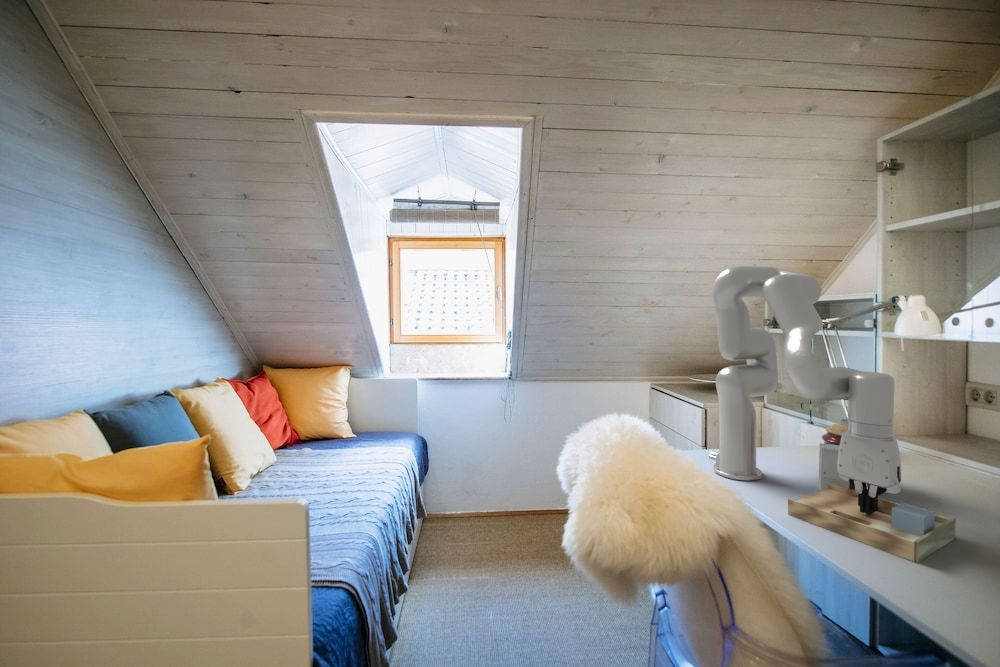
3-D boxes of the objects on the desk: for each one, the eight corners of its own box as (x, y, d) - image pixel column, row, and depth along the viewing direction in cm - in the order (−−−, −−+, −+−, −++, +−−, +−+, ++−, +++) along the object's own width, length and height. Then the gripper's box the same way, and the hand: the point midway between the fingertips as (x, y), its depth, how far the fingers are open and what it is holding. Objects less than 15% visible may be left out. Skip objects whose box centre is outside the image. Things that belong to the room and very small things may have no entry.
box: (787, 514, 102) (788, 497, 102) (828, 497, 110) (829, 482, 110) (917, 563, 82) (917, 542, 82) (955, 538, 90) (955, 519, 90)
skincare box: (820, 493, 113) (820, 447, 112) (817, 487, 117) (818, 442, 116) (850, 498, 110) (851, 450, 109) (846, 491, 114) (847, 445, 113)
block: (891, 527, 90) (891, 508, 90) (902, 521, 93) (902, 502, 92) (923, 537, 86) (924, 517, 86) (934, 531, 88) (934, 511, 88)
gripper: (822, 424, 100) (820, 502, 101) (906, 440, 86) (904, 531, 87) (838, 419, 103) (837, 495, 104) (922, 435, 90) (920, 522, 91)
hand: (867, 511), depth 96 cm, fingers closed
